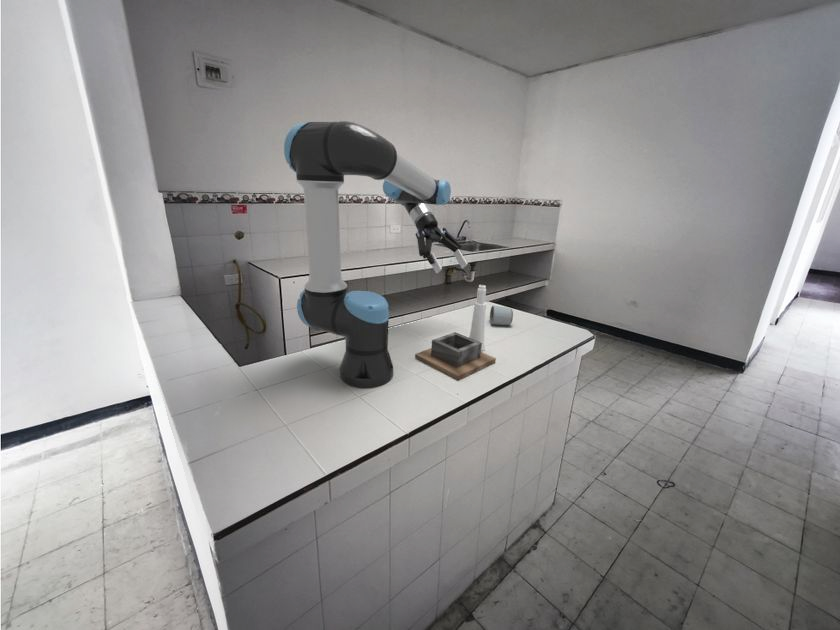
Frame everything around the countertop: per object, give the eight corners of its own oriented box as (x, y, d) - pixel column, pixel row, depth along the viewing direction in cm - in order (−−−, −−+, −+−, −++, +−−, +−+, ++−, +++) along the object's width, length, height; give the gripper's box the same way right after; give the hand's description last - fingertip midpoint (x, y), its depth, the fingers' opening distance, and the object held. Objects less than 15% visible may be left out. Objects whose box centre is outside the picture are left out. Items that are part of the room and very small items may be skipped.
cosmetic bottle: (463, 346, 127) (469, 284, 120) (476, 342, 130) (482, 282, 123) (474, 352, 122) (481, 289, 115) (488, 349, 126) (495, 287, 118)
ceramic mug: (512, 328, 146) (514, 309, 144) (491, 327, 146) (494, 308, 143) (506, 319, 156) (508, 302, 154) (487, 318, 156) (489, 301, 154)
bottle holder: (458, 380, 104) (460, 359, 102) (415, 358, 116) (416, 339, 114) (495, 362, 116) (497, 343, 114) (452, 343, 128) (454, 326, 126)
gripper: (441, 224, 143) (468, 270, 139) (392, 228, 127) (421, 279, 122) (452, 212, 138) (481, 258, 133) (403, 213, 121) (433, 266, 117)
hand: (452, 268), depth 128 cm, fingers open, 13 cm apart
